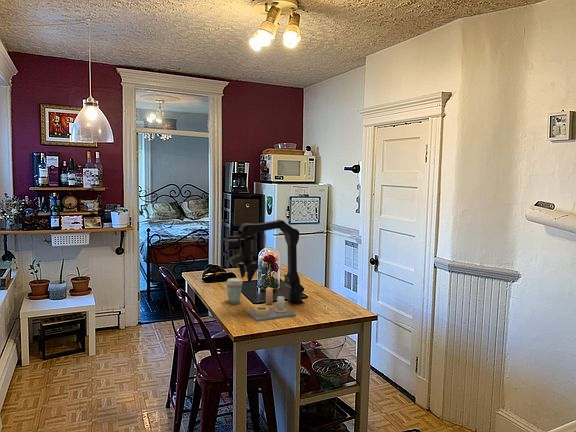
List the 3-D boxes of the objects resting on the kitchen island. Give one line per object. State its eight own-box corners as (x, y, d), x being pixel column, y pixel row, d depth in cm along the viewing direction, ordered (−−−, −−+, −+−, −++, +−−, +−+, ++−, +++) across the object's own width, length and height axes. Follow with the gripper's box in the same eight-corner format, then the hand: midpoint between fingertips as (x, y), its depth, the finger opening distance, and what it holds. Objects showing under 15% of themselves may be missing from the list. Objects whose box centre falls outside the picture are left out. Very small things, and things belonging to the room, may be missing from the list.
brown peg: (270, 302, 228) (271, 287, 228) (273, 304, 225) (273, 289, 224) (264, 302, 227) (264, 288, 226) (267, 304, 224) (267, 289, 223)
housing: (283, 307, 219) (284, 292, 219) (295, 315, 208) (296, 299, 207) (246, 312, 211) (247, 296, 210) (257, 321, 199) (257, 304, 198)
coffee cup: (222, 301, 228) (223, 279, 226) (236, 298, 233) (236, 276, 232) (231, 305, 221) (232, 282, 220) (245, 302, 227) (245, 280, 225)
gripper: (224, 246, 219) (224, 277, 220) (237, 253, 202) (236, 286, 204) (245, 245, 224) (244, 275, 225) (259, 252, 207) (258, 283, 209)
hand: (245, 279), depth 216 cm, fingers open, 9 cm apart
